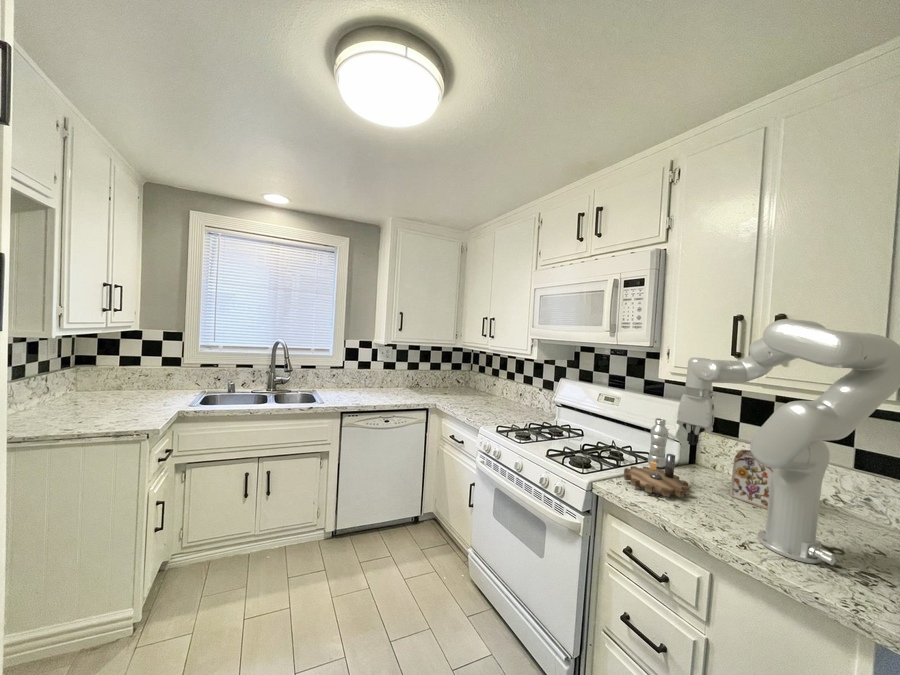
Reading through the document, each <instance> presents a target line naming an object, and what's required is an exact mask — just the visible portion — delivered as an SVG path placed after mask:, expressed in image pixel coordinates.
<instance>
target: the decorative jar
mask: <svg viewBox="0 0 900 675" xmlns="http://www.w3.org/2000/svg"><path fill="white" fill-rule="evenodd" d="M773 470H774V468H769V467H766V466H764V465H762V464H760V463H759V462H758V461H756V459H755V458H754V457H753V455H752V453H751V450H749V449H741V450H739V451H738V452H737V454H736V455H735V456H734V458H733V465H732V473H731V481H730V482H731V483H730V492H729V493H730V494H729V496H730V498H733V499H736V500H739V501H742V502H745V503H748V504H750V505H753V506H757V507H758V508H762V509H764V510H767V511H768V502H769V492H770V484H771V477H772V473H773Z"/></svg>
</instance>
